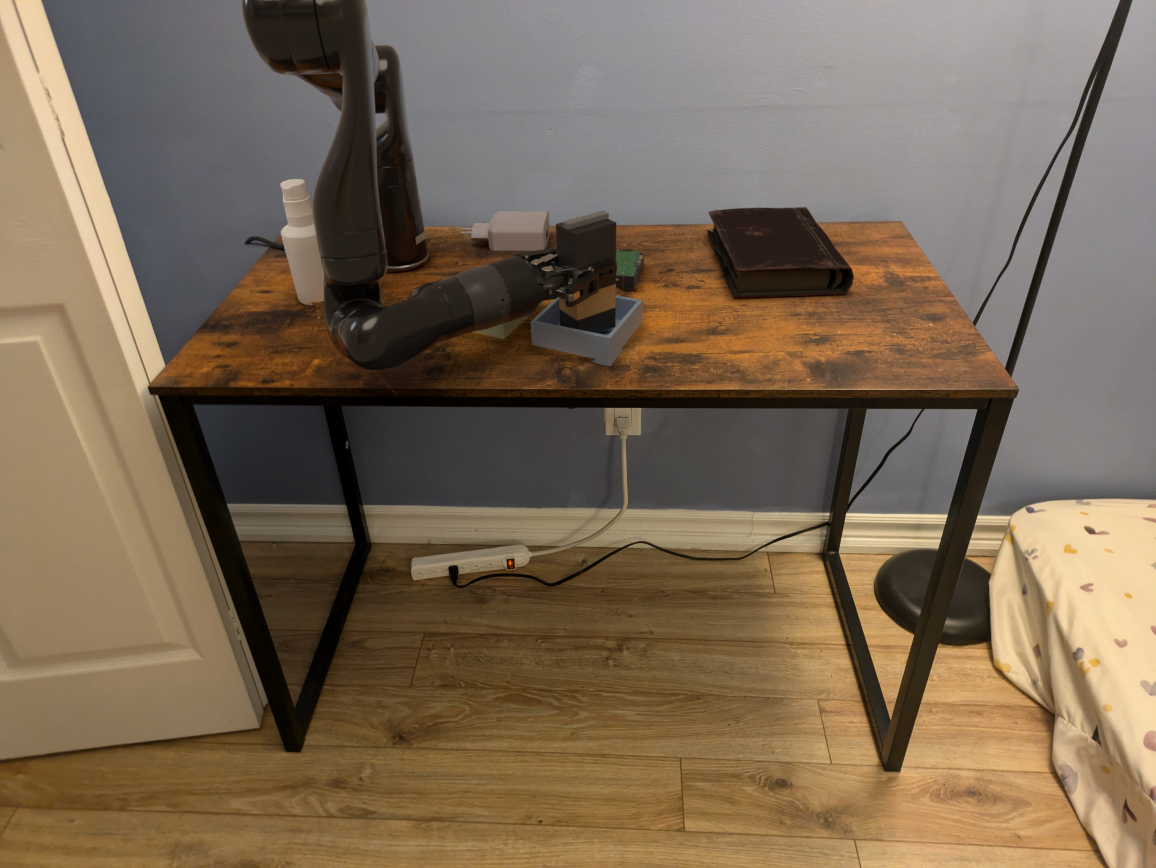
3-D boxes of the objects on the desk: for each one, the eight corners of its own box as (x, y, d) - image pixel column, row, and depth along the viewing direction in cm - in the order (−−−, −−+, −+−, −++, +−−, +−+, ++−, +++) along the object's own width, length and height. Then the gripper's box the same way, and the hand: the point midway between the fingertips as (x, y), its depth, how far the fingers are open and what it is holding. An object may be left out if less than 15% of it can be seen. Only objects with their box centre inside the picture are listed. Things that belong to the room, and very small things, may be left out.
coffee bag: (615, 327, 106) (616, 216, 97) (578, 340, 103) (575, 227, 94) (597, 315, 109) (596, 206, 100) (559, 328, 106) (555, 217, 97)
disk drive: (543, 288, 121) (636, 292, 118) (542, 271, 119) (636, 275, 117) (556, 261, 129) (643, 264, 127) (555, 245, 127) (644, 248, 125)
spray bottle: (352, 291, 121) (326, 178, 111) (323, 309, 117) (294, 193, 106) (318, 284, 124) (290, 172, 113) (289, 302, 119) (257, 187, 108)
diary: (806, 232, 136) (811, 204, 133) (850, 295, 116) (856, 264, 113) (702, 236, 136) (704, 208, 133) (727, 300, 116) (731, 269, 113)
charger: (468, 234, 139) (550, 234, 138) (458, 254, 132) (544, 255, 131) (465, 208, 137) (548, 208, 135) (455, 228, 129) (543, 228, 128)
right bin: (532, 349, 105) (530, 321, 103) (568, 312, 114) (567, 286, 111) (610, 366, 101) (610, 338, 98) (642, 327, 109) (642, 300, 107)
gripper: (520, 286, 87) (637, 250, 95) (461, 248, 97) (572, 217, 105) (524, 344, 92) (636, 305, 99) (468, 301, 101) (574, 269, 109)
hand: (603, 260), depth 102 cm, fingers closed on coffee bag, 4 cm apart
